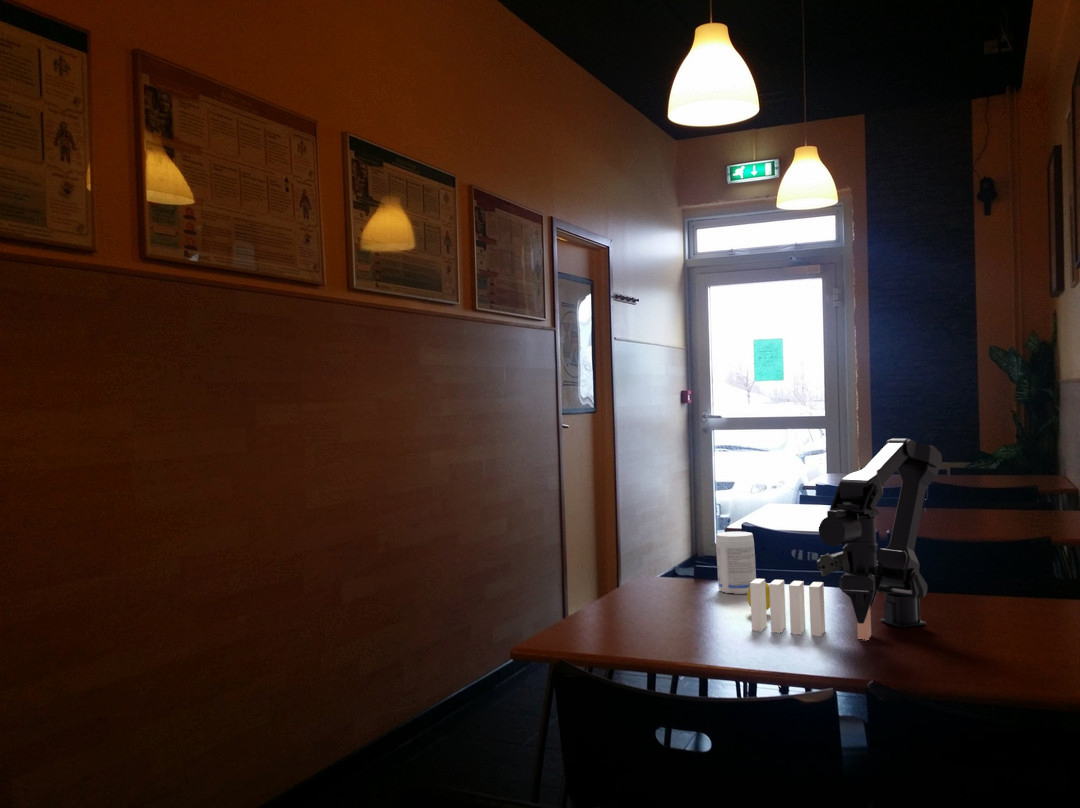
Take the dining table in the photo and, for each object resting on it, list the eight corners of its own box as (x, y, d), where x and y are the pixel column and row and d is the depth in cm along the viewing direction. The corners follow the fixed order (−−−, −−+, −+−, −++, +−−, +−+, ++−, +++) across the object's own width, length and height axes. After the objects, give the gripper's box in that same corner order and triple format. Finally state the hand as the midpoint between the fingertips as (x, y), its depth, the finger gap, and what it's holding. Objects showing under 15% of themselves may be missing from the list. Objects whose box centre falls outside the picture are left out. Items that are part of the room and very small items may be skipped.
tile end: (767, 625, 184) (765, 579, 184) (761, 631, 179) (759, 583, 179) (757, 625, 185) (755, 578, 185) (751, 630, 180) (750, 582, 180)
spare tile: (871, 634, 174) (869, 585, 174) (868, 640, 169) (866, 589, 170) (860, 633, 175) (858, 584, 175) (857, 639, 170) (855, 589, 170)
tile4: (786, 627, 182) (784, 580, 182) (780, 633, 177) (779, 584, 177) (776, 626, 183) (774, 579, 183) (771, 632, 178) (769, 584, 178)
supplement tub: (763, 590, 219) (761, 532, 219) (743, 596, 213) (741, 537, 213) (731, 585, 226) (729, 530, 226) (710, 592, 220) (708, 534, 220)
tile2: (825, 630, 178) (823, 582, 178) (821, 636, 174) (819, 587, 174) (815, 629, 179) (813, 581, 179) (810, 635, 175) (808, 586, 175)
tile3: (805, 629, 180) (803, 581, 180) (800, 634, 175) (798, 585, 176) (795, 628, 181) (793, 580, 181) (790, 633, 176) (788, 585, 177)
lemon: (774, 617, 191) (772, 581, 191) (748, 616, 192) (747, 581, 192) (772, 611, 196) (771, 576, 196) (747, 611, 197) (746, 576, 197)
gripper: (826, 532, 184) (829, 605, 184) (810, 545, 168) (813, 625, 168) (882, 534, 179) (885, 608, 179) (871, 547, 163) (874, 630, 162)
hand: (863, 617), depth 172 cm, fingers open, 9 cm apart
